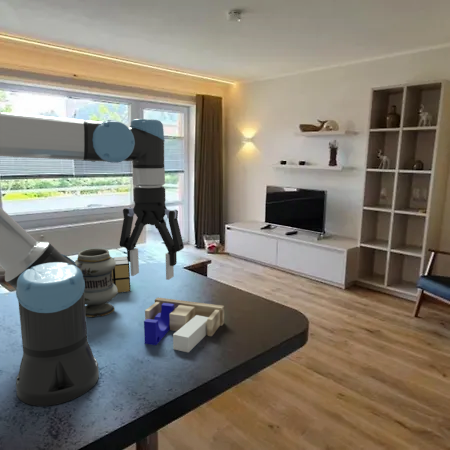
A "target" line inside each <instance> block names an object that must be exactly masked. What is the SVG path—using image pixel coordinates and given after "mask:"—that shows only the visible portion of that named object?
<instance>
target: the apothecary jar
mask: <svg viewBox="0 0 450 450" xmlns="http://www.w3.org/2000/svg"><path fill="white" fill-rule="evenodd" d="M113 258H114V257H112V256H111V255H110V251H109V250H108V249H106V248H89V249H88V248H87V249H84V250H81V251H79V252H78V254H77V258H76V260H75V261H74V263H75V264H76V265H77V267H78V268H79V269H80V270H81V272H82V274H83V278H84V282H85V289H84V296H85V311H86V318H96V317H105V316H106V315H109V314H111V313H113V312H115V307H114V305H113V304H111V303H109V302H111V301H112V300H113V299H115V298H116V296H117V294H118V293H117V292H118V289H117V287H116V285H115V284H113V280H112V270H113V269H114V268H115V265H116V262H115V260H114V259H113Z"/></svg>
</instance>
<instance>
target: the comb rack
mask: <svg viewBox="0 0 450 450" xmlns="http://www.w3.org/2000/svg"><path fill="white" fill-rule="evenodd" d="M163 303H169V304H174V310H173V311H172V312H171V313H170V314H169V315H170V330H169V331H174V332H177V331H178V330H179V329H180V328H181V327H183V326H184V325H185V324H186V323H187V322H189V321H190V320H191V319H192V318H193V317H195V316H196V315H199V316H204V317H209V318H208V319H207V335H206V336H208V337H213V335H214V334H215V333H216V331H217V330H218V329H219V328H220V326H222V327H223V325H224V324H225V305H223V304H213V303H212V304H211V303H206V302H205V303H204V302H197V301H195V302H194V301H187V300H179V299H172V298H166V297H156V298H155V299H154V303H153V304H151V305H150V306H149V307H148V308H146V309H145V310H144V318H145V319H144V321H145V320H146V319H153V320H154V318H155V316H156V315H157V314H158V313H161V307H162V306H161V305H162V304H163Z"/></svg>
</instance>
